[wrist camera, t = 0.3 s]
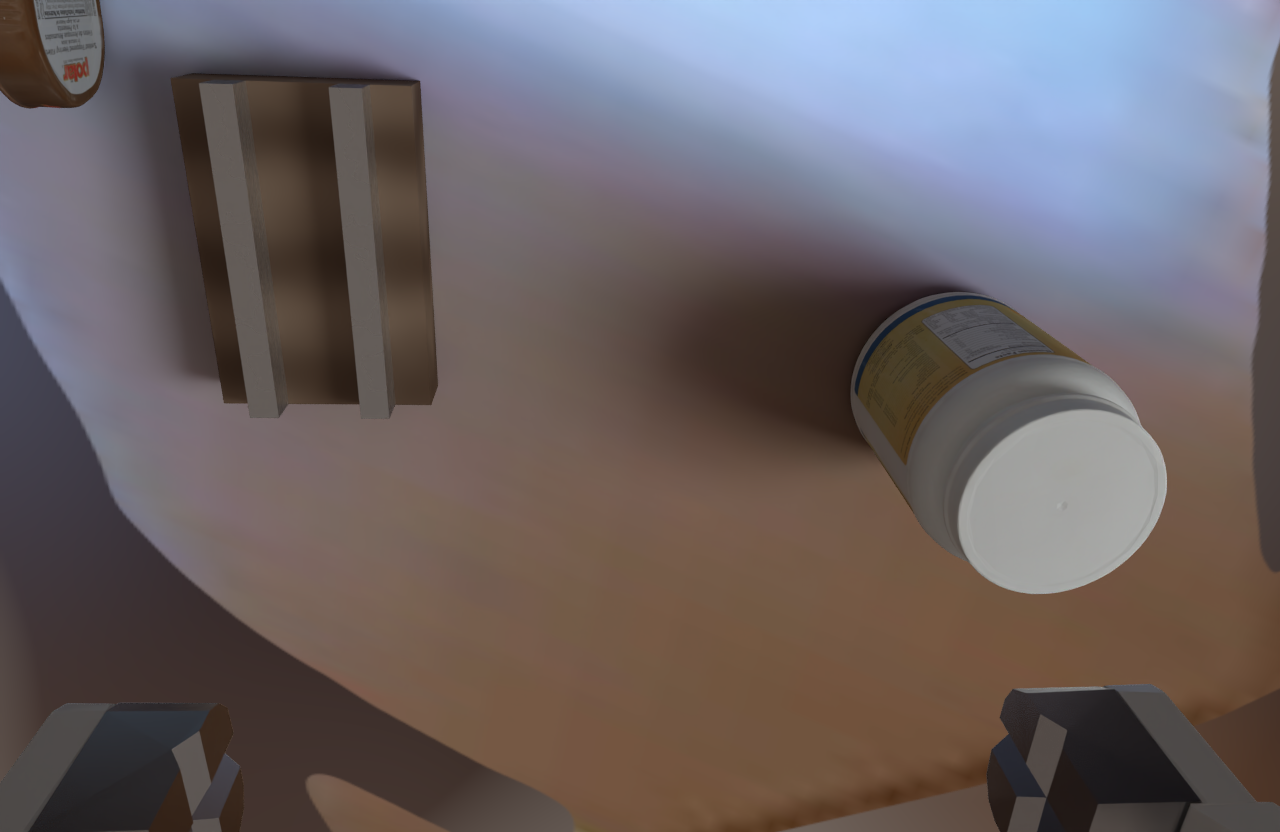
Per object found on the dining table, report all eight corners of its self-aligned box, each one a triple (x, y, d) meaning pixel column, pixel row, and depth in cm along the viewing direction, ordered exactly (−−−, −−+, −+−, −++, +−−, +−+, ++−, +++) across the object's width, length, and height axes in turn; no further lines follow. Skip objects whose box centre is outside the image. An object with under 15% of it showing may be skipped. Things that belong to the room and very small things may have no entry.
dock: (192, 73, 49) (154, 81, 45) (419, 80, 50) (404, 89, 46) (240, 383, 57) (212, 417, 52) (437, 385, 58) (426, 418, 53)
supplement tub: (1042, 426, 62) (1196, 569, 47) (866, 481, 63) (960, 640, 48) (1016, 258, 57) (1179, 356, 42) (825, 321, 58) (916, 440, 42)
